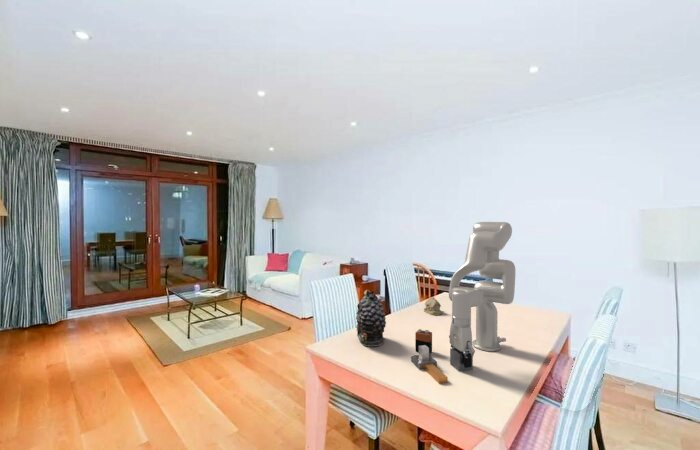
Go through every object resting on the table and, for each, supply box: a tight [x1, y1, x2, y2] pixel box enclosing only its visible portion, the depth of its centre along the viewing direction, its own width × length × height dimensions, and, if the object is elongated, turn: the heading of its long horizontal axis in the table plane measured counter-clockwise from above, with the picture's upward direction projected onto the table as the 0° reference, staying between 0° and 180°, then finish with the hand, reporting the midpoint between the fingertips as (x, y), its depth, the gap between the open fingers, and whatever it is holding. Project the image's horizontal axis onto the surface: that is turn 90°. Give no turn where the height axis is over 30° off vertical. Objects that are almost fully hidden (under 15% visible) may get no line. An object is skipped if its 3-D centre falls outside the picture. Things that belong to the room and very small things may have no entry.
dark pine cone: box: [355, 289, 387, 347], centre depth 163 cm, size 21×15×25 cm
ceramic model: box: [423, 296, 443, 316], centre depth 211 cm, size 14×11×10 cm
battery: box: [414, 328, 433, 355], centre depth 149 cm, size 4×7×10 cm, turn 59°
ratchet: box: [410, 345, 449, 385], centre depth 130 cm, size 20×8×8 cm, turn 14°
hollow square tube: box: [449, 347, 474, 372], centre depth 133 cm, size 6×6×7 cm
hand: (461, 362), depth 133 cm, fingers open, 8 cm apart
